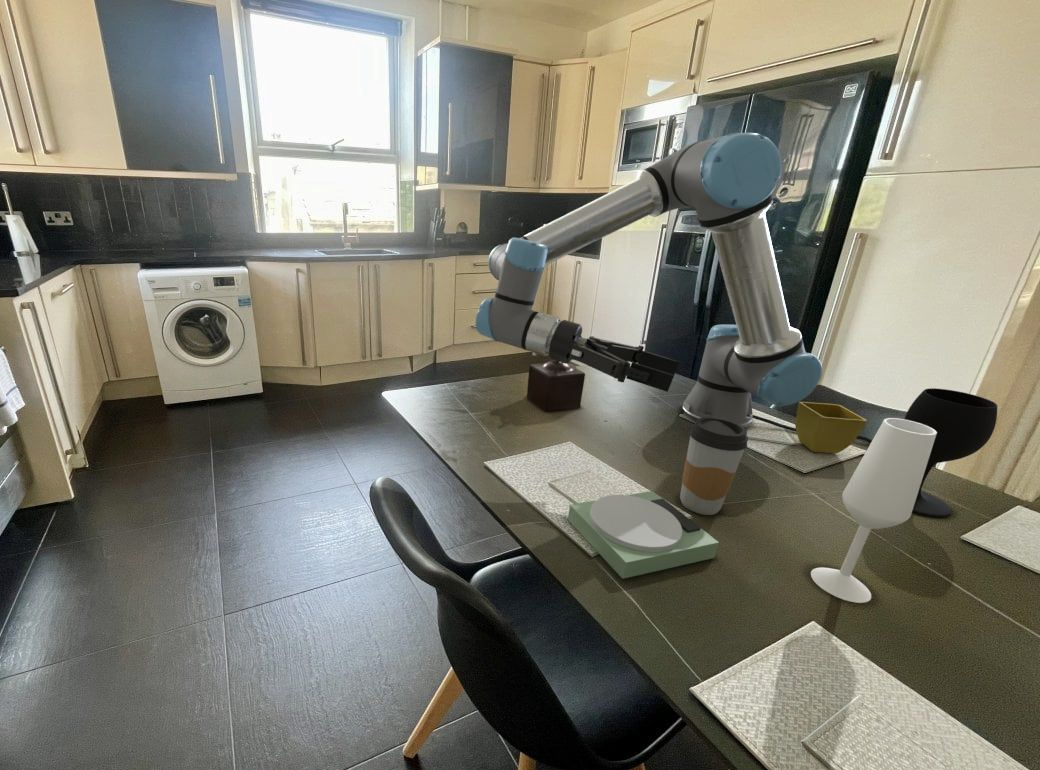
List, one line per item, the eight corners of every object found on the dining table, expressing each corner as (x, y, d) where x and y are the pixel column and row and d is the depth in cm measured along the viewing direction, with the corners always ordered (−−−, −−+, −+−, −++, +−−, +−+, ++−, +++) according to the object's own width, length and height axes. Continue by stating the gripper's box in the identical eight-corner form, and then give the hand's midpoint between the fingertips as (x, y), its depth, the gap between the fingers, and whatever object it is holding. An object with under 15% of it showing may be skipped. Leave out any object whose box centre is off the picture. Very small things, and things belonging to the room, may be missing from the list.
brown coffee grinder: (583, 408, 122) (594, 338, 116) (545, 412, 119) (554, 341, 112) (551, 387, 136) (559, 324, 129) (516, 390, 132) (522, 326, 126)
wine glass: (935, 493, 90) (984, 393, 82) (963, 524, 81) (1021, 415, 73) (865, 479, 93) (906, 382, 86) (885, 507, 85) (932, 402, 77)
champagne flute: (853, 608, 62) (930, 442, 53) (799, 574, 68) (861, 418, 59) (882, 594, 65) (961, 433, 56) (828, 562, 71) (891, 411, 62)
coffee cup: (721, 497, 86) (744, 420, 80) (731, 524, 79) (757, 441, 73) (670, 487, 88) (689, 412, 83) (675, 512, 81) (696, 432, 75)
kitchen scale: (648, 504, 83) (653, 486, 82) (714, 557, 71) (720, 537, 69) (567, 519, 78) (570, 499, 77) (622, 579, 66) (627, 557, 65)
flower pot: (826, 440, 109) (840, 404, 106) (853, 459, 101) (868, 420, 98) (785, 437, 110) (797, 401, 107) (808, 456, 102) (822, 417, 99)
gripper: (566, 348, 102) (671, 382, 94) (527, 368, 81) (658, 414, 72) (577, 314, 99) (686, 345, 91) (540, 325, 78) (677, 367, 70)
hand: (674, 375), depth 82 cm, fingers open, 13 cm apart
